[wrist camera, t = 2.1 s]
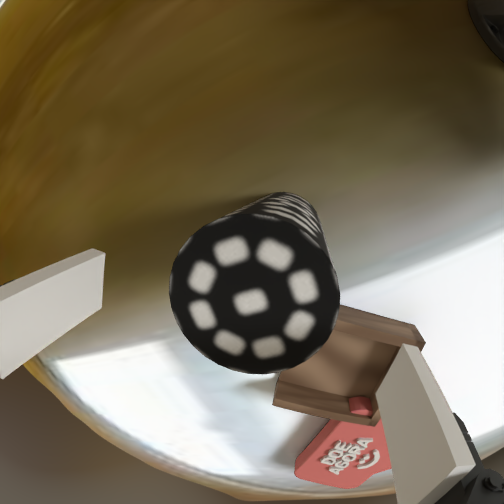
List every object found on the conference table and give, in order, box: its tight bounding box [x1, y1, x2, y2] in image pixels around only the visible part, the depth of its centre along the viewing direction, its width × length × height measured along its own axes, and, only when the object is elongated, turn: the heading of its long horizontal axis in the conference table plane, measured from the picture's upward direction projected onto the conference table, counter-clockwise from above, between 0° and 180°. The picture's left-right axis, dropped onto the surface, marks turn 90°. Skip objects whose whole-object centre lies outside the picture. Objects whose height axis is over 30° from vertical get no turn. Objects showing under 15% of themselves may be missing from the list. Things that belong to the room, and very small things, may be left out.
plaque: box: [294, 396, 392, 489], centre depth 37 cm, size 18×4×15 cm
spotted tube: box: [169, 192, 340, 374], centre depth 24 cm, size 8×8×20 cm
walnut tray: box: [272, 305, 426, 427], centre depth 34 cm, size 13×14×4 cm
